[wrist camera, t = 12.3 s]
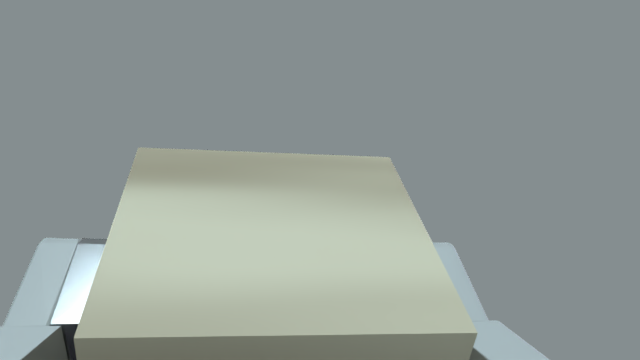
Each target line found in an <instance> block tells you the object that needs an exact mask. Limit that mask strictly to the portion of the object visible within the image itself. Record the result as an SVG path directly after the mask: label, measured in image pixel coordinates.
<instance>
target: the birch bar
mask: <svg viewBox="0 0 640 360" xmlns="http://www.w3.org/2000/svg"><path fill="white" fill-rule="evenodd" d="M477 334H478V332H477V330H476V328H475V326H474V324H473V322H472V320H471V318H470V316H469V314H468V312H467V310H466V308H465V306H464V304H463V302H462V300H461V298H460V296H459V294H458V293H457V291H456V289H455V287H454V285H453V283H452V281H451V279H450V277H449V275H448V273H447V271H446V269H445V267H444V265H443V263H442V261H441V259H440V257H439V255H438V253H437V251H436V249H435V247H434V245H433V243H432V241H431V239H430V237H429V235H428V233H427V231H426V229H425V227H424V225H423V223H422V221H421V219H420V217H419V215H418V213H417V211H416V209H415V207H414V205H413V203H412V201H411V199H410V197H409V195H408V193H407V191H406V189H405V187H404V186H403V183H402V182H401V179H400V177H399V175H398V173H397V171H396V169H395V167H394V165H393V163H392V161H391V159H390V158H389V157H369V156H342V155H317V154H290V153H265V152H240V151H213V150H186V149H161V148H160V149H159V148H138V150H137V153H136V156H135V159H134V162H133V165H132V168H131V171H130V174H129V177H128V180H127V183H126V186H125V188H124V191H123V194H122V197H121V200H120V204H119V206H118V209H117V213H116V215H115V218H114V221H113V224H112V227H111V230H110V233H109V236H108V239H107V241H106V244H105V247H104V250H103V253H102V256H101V259H100V262H99V265H98V268H97V271H96V274H95V277H94V280H93V283H92V286H91V289H90V291H89V294H88V297H87V300H86V303H85V306H84V309H83V312H82V315H81V318H80V321H79V324H78V327H77V330H76V333H75V336H74V345H75V352H76V359H77V360H469V358H470V355H471V352H472V349H473V346H474V343H475V340H476V337H477Z"/></svg>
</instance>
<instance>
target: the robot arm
mask: <svg viewBox="0 0 640 360" xmlns="http://www.w3.org/2000/svg"><path fill="white" fill-rule="evenodd" d="M106 241H107V239H85V238H82V239H64V238H44V239H43V240H42V242H40V243H39V244H38V245H37V248H36V251H35V253H34V255H33V257H32V259H31V262H30V264H29V266H28V268H27V271H26V273H25V275H24V278H23V280H22V282H21V284H20V287H19V289H18V292H17V294H16V296H15V298H14V300H13V303H12V305H11V308H10V310H9V312H8V314H7V317H6V319H5V321H4V324H3V326H0V360H77V359H76V352H75V345H74V336H75V333H76V330H77V327H78V324H79V321H80V318H81V315H82V312H83V309H84V306H85V303H86V300H87V297H88V294H89V291H90V289H91V286H92V283H93V280H94V277H95V274H96V271H97V268H98V265H99V262H100V259H101V256H102V253H103V250H104V247H105V244H106ZM433 245H434V247H435V249H436V251H437V253H438V255H439V257H440V259H441V261H442V263H443V265H444V267H445V269H446V271H447V273H448V275H449V277H450V279H451V281H452V283H453V285H454V287H455V289H456V291H457V293H458V294H459V296H460V298H461V300H462V302H463V304H464V306H465V308H466V310H467V312H468V314H469V316H470V318H471V320H472V322H473V324H474V326H475V328H476V330H477V332H478V334H477V337H476V340H475V343H474V346H473V349H472V352H471V355H470V358H469V360H549V359H548V358H547V357H545V356H544V355H543V354H541V353H540V352H539V351H537V350H536V349H535V348H533V347H532V346H531V345H530V344H528V343H527V342H526V341H524V340H523V339H522V338H520V337H519V336H518V335H516V334H515V333H514V332H513V331H511V330H510V329H509V328H507V327H506V326H505V325H503V324H502V323H501V322H499V321H489V319H488V317H487V315H486V313H485V311H484V309H483V307H482V305H481V302H480V300H479V298H478V296H477V294H476V292H475V290H474V288H473V286H472V283H471V281H470V279H469V277H468V275H467V273H466V271H465V268H464V266H463V264H462V262H461V260H460V258H459V256H458V254H457V251H456V249H455V247H454V246H453V245H452V244H450V243H433Z"/></svg>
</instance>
